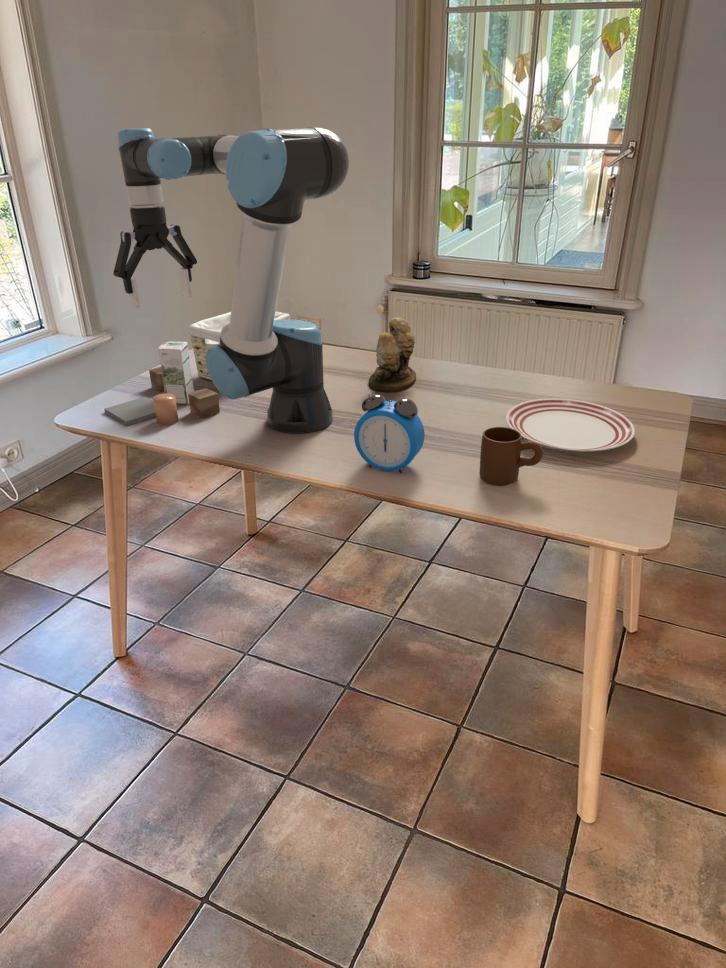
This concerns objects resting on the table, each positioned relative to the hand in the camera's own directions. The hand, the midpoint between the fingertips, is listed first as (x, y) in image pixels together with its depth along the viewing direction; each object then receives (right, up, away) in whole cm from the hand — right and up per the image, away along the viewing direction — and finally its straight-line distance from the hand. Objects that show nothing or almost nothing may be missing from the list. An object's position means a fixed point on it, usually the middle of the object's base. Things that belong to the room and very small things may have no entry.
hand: (162, 301), depth 171 cm
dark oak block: (-4, -18, +19) cm, 26 cm away
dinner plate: (+93, -32, -10) cm, 99 cm away
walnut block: (+9, -26, +3) cm, 28 cm away
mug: (+76, -42, -29) cm, 92 cm away
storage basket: (+15, -12, +29) cm, 35 cm away
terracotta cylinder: (+2, -28, -1) cm, 28 cm away
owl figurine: (+55, -16, +21) cm, 61 cm away
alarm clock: (+53, -39, -23) cm, 70 cm away
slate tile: (-7, -26, +4) cm, 27 cm away
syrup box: (+2, -22, +10) cm, 25 cm away
